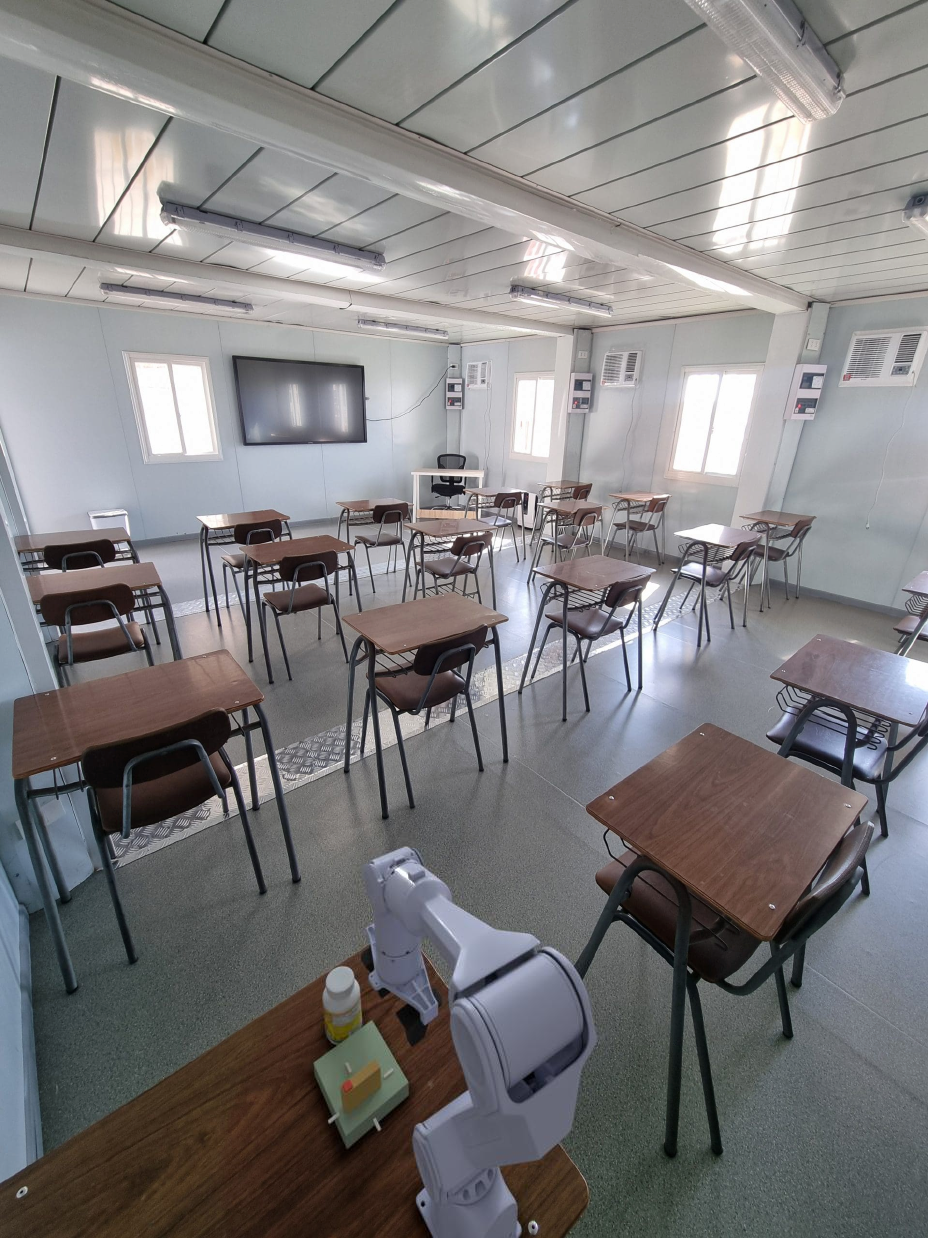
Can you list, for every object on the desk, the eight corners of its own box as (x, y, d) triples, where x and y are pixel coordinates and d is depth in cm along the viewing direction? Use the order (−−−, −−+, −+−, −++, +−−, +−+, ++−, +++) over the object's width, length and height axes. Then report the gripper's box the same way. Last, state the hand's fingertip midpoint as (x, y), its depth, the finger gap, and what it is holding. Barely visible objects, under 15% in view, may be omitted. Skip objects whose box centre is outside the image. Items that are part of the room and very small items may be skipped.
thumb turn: (376, 1077, 67) (375, 1057, 66) (381, 1086, 66) (380, 1066, 65) (341, 1105, 64) (340, 1084, 63) (346, 1114, 63) (344, 1094, 62)
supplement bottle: (362, 1043, 73) (358, 994, 70) (324, 1050, 72) (318, 1001, 69) (362, 1006, 78) (359, 959, 75) (327, 1012, 77) (322, 965, 75)
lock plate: (417, 1110, 66) (417, 1096, 65) (346, 1175, 60) (345, 1160, 59) (372, 1032, 75) (371, 1019, 74) (306, 1081, 69) (305, 1068, 68)
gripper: (343, 914, 66) (349, 991, 70) (401, 1002, 55) (404, 1087, 59) (389, 888, 70) (393, 961, 74) (452, 965, 59) (452, 1046, 63)
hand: (401, 1015), depth 67 cm, fingers open, 7 cm apart
